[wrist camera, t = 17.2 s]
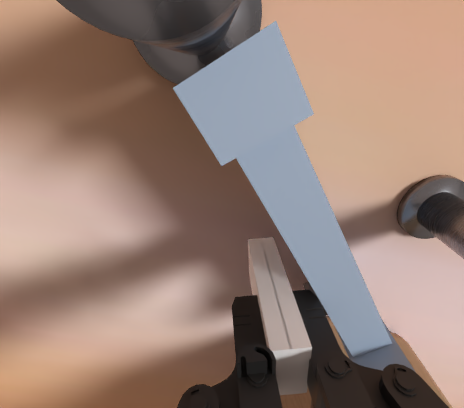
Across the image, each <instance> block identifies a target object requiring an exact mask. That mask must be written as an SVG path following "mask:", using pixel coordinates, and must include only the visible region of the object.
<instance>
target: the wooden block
mask: <svg viewBox="0 0 464 408" xmlns="http://www.w3.org/2000/svg"><path fill="white" fill-rule="evenodd" d="M326 318H327V320H328V322H329V324H330V326H331V328H332V331H333V333H334V335H335V337H336V340H337V342H338V344H339V346H340V348H341V350H342V352H343V353H344V354H345V355H346V356H347V357H348V354H347V352H346V350H345V348H344V346H343V343H342V341H341V339H340V337H339V335H338V332H337V330H336V328H335V326H334V324H333V322H332V321H331V319H330V317H326ZM390 333H391V332H390ZM391 335H392V336H393V338H394V339H395V341H396V342H397V344H398V345H399V347H400V348H401V350H402V352H403V353H404V355H405V356H406V358H407V359H408V361H409V362H410V364H411V365H412V367H413V369H414V370H415V372H416V373H417V374H418V375H419V376H420V377H421V378H422V379H423V380H424V381H425V382H426V383H427V384H428V385H429V386H430V387H431V388H432V390H433V391H434V392H435V393H436V394H437V395H438V396H439V397H440V398H441V399H442V400H443V402H444V403H445V404H446V405H447V406H448V407H449V408H452V406H451V405H450V404H449V402H448V401H447V399H446V398H445V396H444V395H443V393H442V392H441V390H440V389H439V388H438V386H437V385H436V383H435V382H434V380H433V379H432V377H431V376H430V374H429V373H428V372H427V370H426V369H425V367H424V366H423V364H422V363H421V361H420V360H419V358H418V357H417V356H416V354H415V353H414V351H413V350H412V348H411V347H410V345H409V344H408V343H407V342H406V341H405V340H404V339H403V338H402V337H400V336H399V335H397V334H395V333H391ZM348 358H349V357H348ZM280 398H281V403H282V408H310V407H311V400H312V399H311V395H310V392H309V389H308V386H307V393H300V394H290V395H280Z"/></svg>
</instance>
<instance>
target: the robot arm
mask: <svg viewBox="0 0 464 408" xmlns="http://www.w3.org/2000/svg"><path fill="white" fill-rule="evenodd" d="M248 256H249V278H250V284H251V289H252V296H241V297H235V300H234V302H233V305H232V314H233V326H234V339H235V351H236V365H235V368H234V370H233V372H232V374H231V375H230V376H229V377H228V378H227V379H226V380H224V381H223V382H221V383H219V384H217V385H215V386H213V387H210V386H207V385H205V384H201V385H195V386H193V387H191V388H189V389H188V390H187V391H186V392H185V393H184V394H183V396H182V398H181V400H180V402H179V404H178V407H177V408H282V403H281V398H280V395H290V394H300V393H307V386H308V389H309V392H310V395H311V399H312V400H311V407H310V408H449V407H448V406H447V405H446V404H445V403H444V402H443V400H442V399H441V398H440V397H439V396H438V395H437V394H436V393H435V392H434V391H433V390H432V388H431V387H430V386H429V385H428V384H427V383H426V382H425V381H424V380H423V379H422V378H421V377H420V376H419V375H418V374H417V373H416V372H415V371H413V370H412V369H410V368H408V367H406V366H404V365H400V364H390V365H387V366H386V367H385V368H384V369H383V371H382V370H378V369H373V368H369V367H364V366H361V365H358V364H357V363H355V362H353V361H351V360H350V359H349V358H348V357H347V356H346V355H345V354H344V353H343V352H342V350H341V348H340V346H339V344H338V342H337V340H336V337H335V335H334V333H333V331H332V328H331V326H330V324H329V322H328V320H327V318H326V315H325V313H324V311H323V309H322V306H321V304H320V302H319V300H318V297H317V296H315V295H314V294H313V293H312V292H311V291H310V290H299V291H292V289H291V286H290V283H289V280H288V277H287V275H286V272H285V269H284V266H283V263H282V260H281V257H280V255H279V252H278V249H277V246H276V243H275V240H274V238H273V237H267V238H255V239H248Z"/></svg>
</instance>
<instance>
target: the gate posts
mask: <svg viewBox="0 0 464 408" xmlns="http://www.w3.org/2000/svg"><path fill="white" fill-rule="evenodd" d="M57 1H58V2H59V3H60V4H61V5H63V6H64V7H65V8H66V9H67V10H69V11H70V12H72V13H73V14H75V15H76V16H78V17H79V18H80V19H82V20H83V21H85V22H87V23H89V24H91V25H93V26H95V27H97V28H98V29H100V30H103V31H106V32H108V33H111V34H114V35H116V36H120V37H123V38H127V39H131V40H133V42H134V44H135V46H136V47H137V49H138V51H139V53H140V54H141V55H142V57H143V58H144V60H145V61H146V62H147V63H148V64H149V65H150V66H151V68H153V69H154V70H155V71H156V72H157V73H158V74H160V75H161V76H163V77H164V78H165V79H167V80H169V81H171V82H173V83H176V84H180V83H181V82H183V81H184V80H186V79H187V78H189V77H191V76H192V75H194V74H195V73H197V72H198V71H200V70H201V69H203V68H204V67H206V66H207V65H209V64H210V63H212V62H214V61H215V60H217V59H218V58H220V57H221V56H223V55H224V54H226V53H227V52H229V51H230V50H232V49H233V48H235V47H237V46H238V45H240V44H241V43H243V42H244V41H246V40H247V39H249V38H250V37H252V36H253V35H255V34H256V33H258V32H259V31H260V27H261V18H262V4H261V0H57ZM397 218H398V222H399V224H400V226H401V227H402V228H403V229H404V230H405V231H406V232H408V233H409V234H410V235H412V236H414V237H416V238H421V239H428V238H434V237H437V238H438V239H439V240H441V241H442V242H443V243H444V244H446V245H447V246H448V247H449V248H451V249H452V250H453V251H454V252H456V253H457V254H458V255H459V256H461V257H462V258H463V259H464V182H463V181H461V180H459V179H457V178H455V177H452V176H448V175H438V176H433V177H430V178H427V179H425V180H423V181H421V182H419V183H418V184H416V185H415V186H414V187H412V188H411V189H410V190H409V191H408V192H407V193H406V194H405V196H404V197H403V199H402V200H401V202H400V204H399V207H398V212H397Z"/></svg>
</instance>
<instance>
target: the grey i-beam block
mask: <svg viewBox="0 0 464 408" xmlns="http://www.w3.org/2000/svg"><path fill="white" fill-rule="evenodd" d="M173 89H174V91H175V93H176V94H177V96H178V97H179V99H180V101H181V102H182V104H183V105H184V107H185V109H186V110H187V112H188V113H189V115H190V117H191V118H192V120H193V121H194V123H195V125H196V126H197V128H198V129H199V131H200V133H201V134H202V136H203V137H204V139H205V141H206V142H207V144H208V145H209V147H210V149H211V150H212V152H213V153H214V155H215V157H216V158H217V160H218V161H219V163H220V165H221V166H223V165H225V164H227V163H228V162H230V161H232V160H234V159H235V158H236V159H237V161H238V162H239V164H240V166H241V168H242V169H243V171H244V173H245V174H246V176H247V178H248V179H249V181H250V183H251V185H252V186H253V188H254V190H255V191H256V193H257V195H258V196H259V198H260V200H261V202H262V203H263V205H264V207H265V208H266V210H267V212H268V213H269V215H270V217H271V219H272V220H273V222H274V224H275V225H276V227H277V229H278V230H279V232H280V234H281V236H282V237H283V239H284V241H285V242H286V244H287V246H288V247H289V249H290V251H291V253H292V254H293V256H294V258H295V259H296V261H297V263H298V264H299V266H300V268H301V270H302V271H303V273H304V275H305V276H306V278H307V280H308V281H309V282H307V283H305V284H303V285H304V288H305V290H310V291H311V292H312V293H313V294H314V295H315V296H317V297H318V300H319V302H320V304H321V306H322V309H323V311H324V313H325V315H329V317H330V319H331V321H332V322H333V324H334V326H335V328H336V330H337V332H338V335H339V337H340V339H341V341H342V343H343V346H344V348H345V350H346V352H347V354H348V357H349V359H350V360H351V361H353V362H355V363H357V364H358V365H361V366H364V367H369V368H373V369H378V370H382V371H383V369H384V368H385V367H386V366H387V365H390V364H400V365H404V366H406V367H408V368H410V369H412V370H413V371H415V370H414V369H413V367H412V365H411V364H410V362H409V361H408V359H407V358H406V356H405V355H404V353H403V352H402V350H401V348H400V347H399V345H398V344H397V342H396V341H395V339H394V338H393V336H392V335H391V333H390V332H389V330H388V328H387V327H386V325H385V324H384V322H383V321H382V319H381V317H380V315H379V313H378V311H377V308H376V306H375V304H374V302H373V299H372V297H371V295H370V293H369V291H368V288H367V286H366V284H365V282H364V279H363V277H362V275H361V273H360V271H359V268H358V266H357V264H356V262H355V260H354V257H353V255H352V253H351V251H350V248H349V246H348V244H347V242H346V240H345V237H344V235H343V233H342V231H341V228H340V226H339V224H338V222H337V220H336V217H335V215H334V213H333V211H332V208H331V206H330V204H329V202H328V200H327V197H326V195H325V193H324V191H323V189H322V186H321V184H320V182H319V180H318V177H317V175H316V173H315V171H314V169H313V166H312V164H311V162H310V160H309V157H308V155H307V153H306V151H305V149H304V146H303V144H302V142H301V140H300V137H299V135H298V133H297V131H296V129H295V126H294V125H295V124H297V123H299V122H301V121H303V120H304V119H306V118H308V117H310V116H311V115H313V114H314V113H313V111H312V108H311V106H310V103H309V101H308V98H307V96H306V93H305V91H304V89H303V86H302V84H301V81H300V79H299V76H298V74H297V71H296V69H295V66H294V64H293V62H292V59H291V57H290V54H289V52H288V49H287V47H286V44H285V42H284V39H283V37H282V35H281V32H280V30H279V27H278V25H277V22H276V21H275V22H273V23H272V24H270V25H269V26H267V27H266V28H264V29H263V30H261V31H260V32H258V33H256V34H255V35H253V36H252V37H250V38H249V39H247V40H246V41H244V42H243V43H241V44H240V45H238V46H237V47H235V48H233V49H232V50H230V51H229V52H227V53H226V54H224V55H223V56H221V57H220V58H218V59H217V60H215V61H214V62H212V63H210V64H209V65H207V66H206V67H204V68H203V69H201V70H200V71H198V72H197V73H195V74H194V75H192V76H191V77H189V78H187V79H186V80H184V81H183V82H181V83H180V84H178V85H177V86H175V87H174V88H173Z"/></svg>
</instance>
